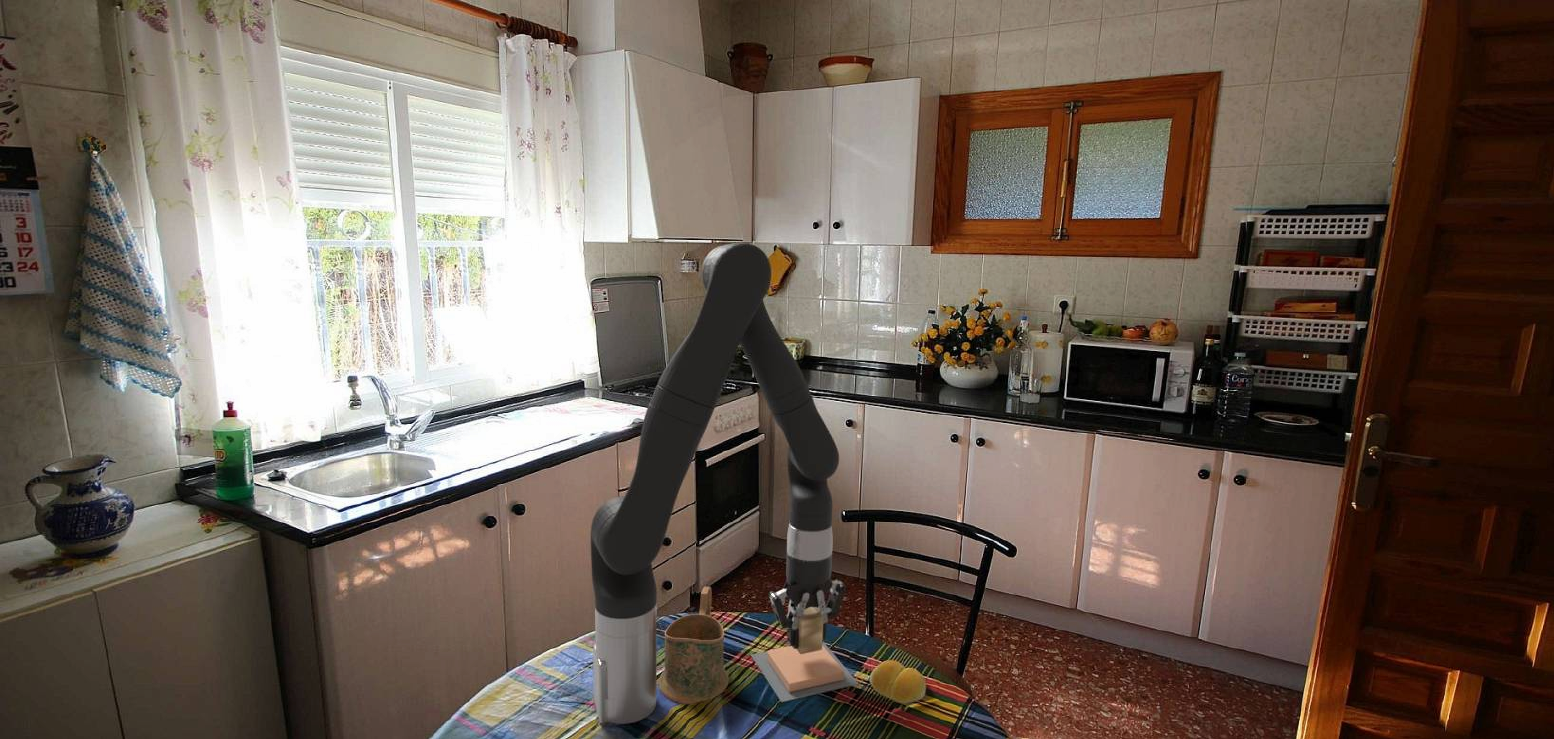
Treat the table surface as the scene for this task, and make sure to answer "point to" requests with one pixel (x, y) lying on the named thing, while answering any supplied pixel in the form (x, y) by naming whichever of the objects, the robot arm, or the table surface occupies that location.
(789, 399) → the robot arm
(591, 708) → the table surface
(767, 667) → the mat
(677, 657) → the mug
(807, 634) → the block
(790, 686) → the tile
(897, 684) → the bread roll
